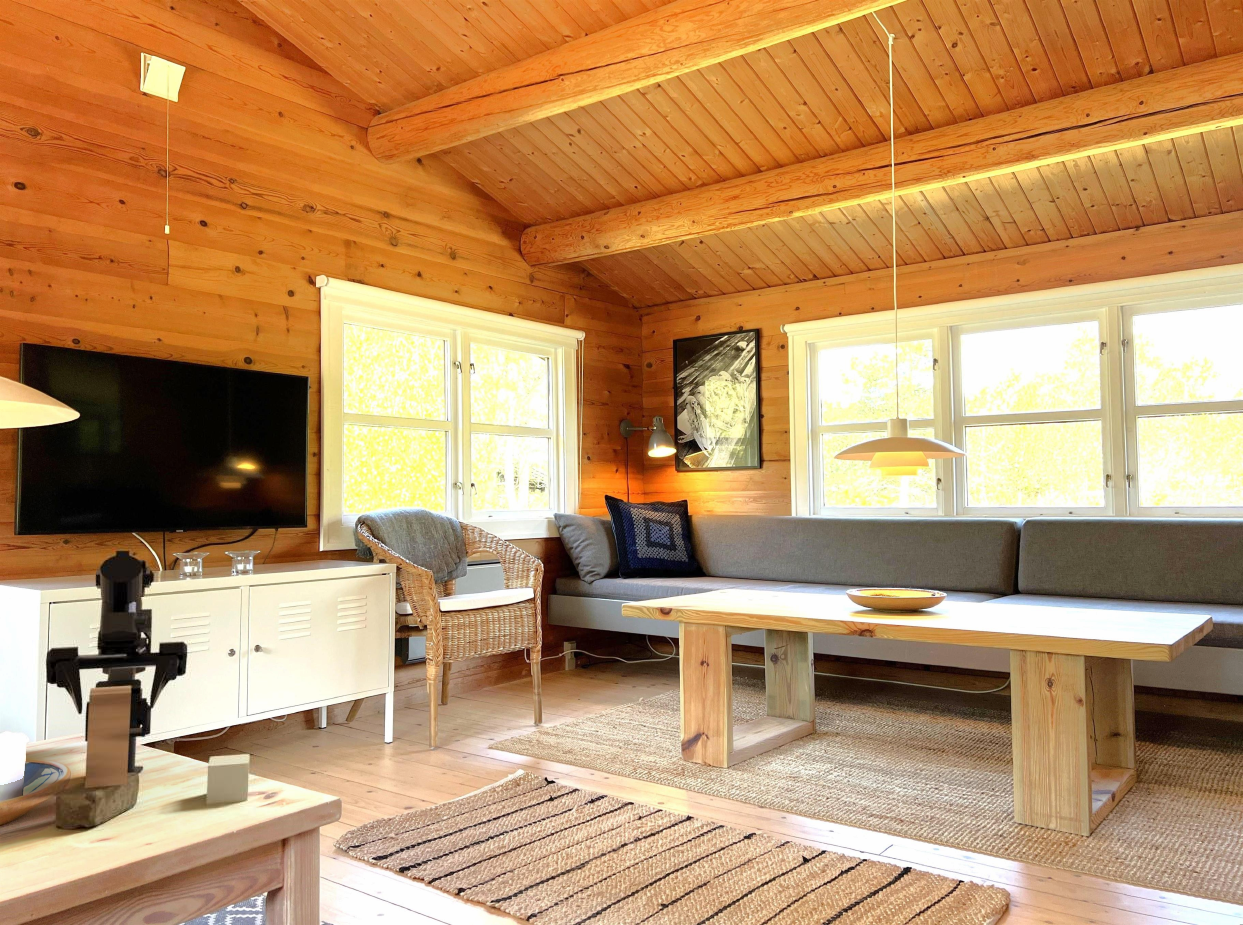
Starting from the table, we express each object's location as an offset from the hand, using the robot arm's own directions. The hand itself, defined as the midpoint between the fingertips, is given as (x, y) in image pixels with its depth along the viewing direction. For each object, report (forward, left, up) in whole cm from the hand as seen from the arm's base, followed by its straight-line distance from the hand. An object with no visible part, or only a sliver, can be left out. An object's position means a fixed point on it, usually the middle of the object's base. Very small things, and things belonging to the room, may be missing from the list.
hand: (116, 709), depth 136 cm
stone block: (+7, +1, -14) cm, 15 cm away
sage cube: (-1, +16, -13) cm, 21 cm away
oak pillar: (+7, +2, -8) cm, 11 cm away
